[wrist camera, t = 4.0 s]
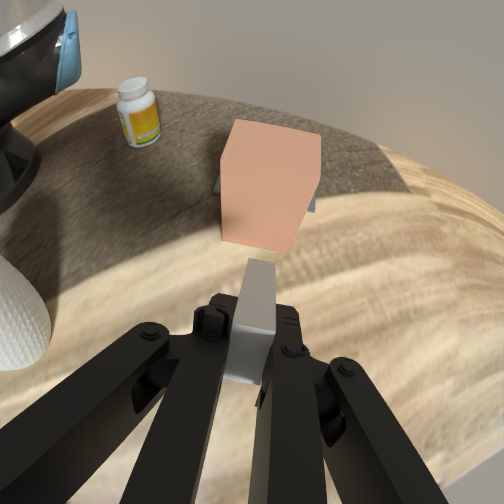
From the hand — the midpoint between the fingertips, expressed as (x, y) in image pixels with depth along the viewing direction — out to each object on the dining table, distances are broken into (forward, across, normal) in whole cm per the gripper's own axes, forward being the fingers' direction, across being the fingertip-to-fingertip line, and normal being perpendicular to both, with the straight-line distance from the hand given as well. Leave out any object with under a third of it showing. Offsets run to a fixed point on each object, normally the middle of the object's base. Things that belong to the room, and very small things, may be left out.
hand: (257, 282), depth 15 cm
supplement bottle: (+24, -20, +8) cm, 32 cm away
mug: (+2, -24, -14) cm, 28 cm away
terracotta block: (+15, -1, 0) cm, 15 cm away
